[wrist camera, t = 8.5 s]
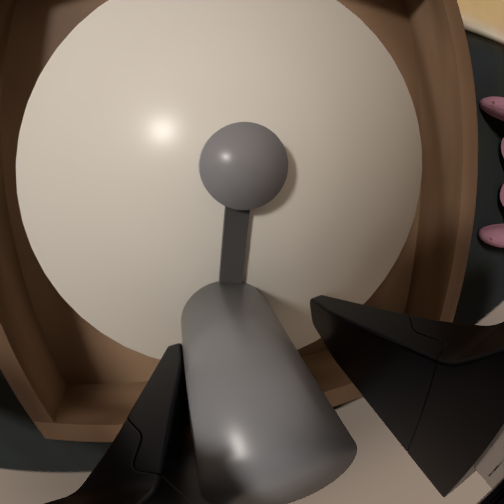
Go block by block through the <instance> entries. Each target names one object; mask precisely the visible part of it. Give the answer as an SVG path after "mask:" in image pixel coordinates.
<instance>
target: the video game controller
mask: <svg viewBox="0 0 504 504" xmlns="http://www.w3.org/2000/svg"><path fill="white" fill-rule="evenodd" d="M480 108H481V109H482V110H484V111H485V112H486V113H487V114H489V115H491V116H493V117H495V118H497V119H500V120H502V121H504V97H486V98H483V99H482V100H480ZM501 151H502V155H503V157H504V138H503V139H502V142H501ZM499 195H500V200H501V203H502V205H503V206H504V183H503V184H502V186H501V189H500V194H499ZM478 236H479V237H480V239H481V240H482V241H484V242H485V243H487V244H490V245H492V246H495V247H500V248H504V223H503V224H493V225H489V226H485V227H483V228H482V229H480V230H479V232H478Z"/></svg>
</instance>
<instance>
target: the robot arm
mask: <svg viewBox="0 0 504 504" xmlns="http://www.w3.org/2000/svg"><path fill="white" fill-rule="evenodd" d="M310 309H311V317H312V322H313V325H314V327H315V329H316V330H317V332H318V333H319V335H320V337H321V339H322V340H323V342H324V344H325V345H326V347H327V349H328V350H329V352H330V354H331V355H332V357H333V358H334V360H335V361H336V363H337V364H338V365H339V366H340V368H341V369H342V370H343V372H344V373H345V374H346V375H347V377H348V378H349V379H350V380H351V382H352V383H353V384H354V385H355V387H356V388H357V389H358V390H359V392H360V393H361V394H362V396H363V397H364V398H365V399H366V401H367V402H368V403H369V404H370V406H371V407H372V408H373V409H374V410H375V412H376V413H377V414H378V416H379V417H380V418H381V419H382V421H383V422H384V423H385V425H386V426H387V427H388V428H389V430H391V432H392V433H393V434H394V436H395V437H396V438H397V440H398V441H399V442H400V443H401V445H402V446H403V447H404V448H405V450H406V451H408V454H409V455H410V456H411V457H412V459H413V460H414V461H415V462H416V464H417V465H418V466H419V467H420V469H421V470H422V471H423V473H424V474H425V475H426V476H427V478H428V479H429V480H430V481H431V482H432V484H433V485H434V486H435V487H436V489H437V490H438V491H439V493H440V494H441V495H442V496H443V497H445V496H447V495H448V494H449V493H451V492H452V491H453V490H454V489H455V488H457V487H458V486H459V485H460V484H461V483H462V482H464V481H465V480H466V479H467V478H468V477H469V476H470V475H472V473H474V472H475V471H477V472H478V473H479V474H480V475H481V476H482V477H483V478H484V479H485V480H486V482H487V483H488V484H489V485H490V486H491V488H492V490H491V491H490V492H489V493H487V495H485V496H484V497H483V498H482V499H481V500H480V501H479V502H478V503H477V504H504V322H502V323H500V324H497V325H492V326H479V325H470V324H461V323H452V322H445V321H438V320H432V319H426V318H421V317H416V316H412V315H410V316H409V315H407V314H403V313H398V312H394V311H389V310H385V309H380V308H376V307H371V306H367V305H363V304H358V303H354V302H350V301H345V300H341V299H337V298H333V297H328V296H324V295H319V296H317V297H314V298H312V299H311V300H310ZM45 504H210V503H209V502H207V501H206V500H205V499H204V498H203V497H202V495H201V492H200V486H199V481H198V475H197V469H196V462H195V456H194V449H193V442H192V434H191V427H190V419H189V410H188V401H187V392H186V382H185V371H184V359H183V346H182V344H181V343H177V344H174V345H170V346H168V347H167V349H166V351H165V353H164V354H163V356H162V358H161V359H160V361H159V363H158V365H157V366H156V368H155V370H154V371H153V373H152V375H151V377H150V378H149V380H148V382H147V384H146V385H145V387H144V389H143V391H142V392H141V394H140V396H139V398H138V399H137V401H136V403H135V405H134V406H133V408H132V410H131V412H130V414H129V415H128V417H127V420H125V422H124V424H123V426H122V428H121V429H120V431H119V433H118V434H117V436H116V438H115V439H114V441H113V443H112V444H111V446H110V447H109V448H108V450H107V451H106V453H105V454H104V456H103V457H102V459H101V460H100V461H99V463H98V464H97V466H96V467H95V468H94V470H93V471H92V473H91V474H90V475H89V477H88V478H87V480H86V481H85V482H84V484H83V485H82V486H81V487H80V488H79V489H78V490H77V491H76V492H75V493H73V494H71V495H69V496H67V497H65V498H61V499H58V500H55V501H52V502H48V503H45Z"/></svg>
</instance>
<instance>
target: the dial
mask: <svg viewBox="0 0 504 504" xmlns="http://www.w3.org/2000/svg"><path fill="white" fill-rule="evenodd" d="M421 176H422V146H421V138H420V131H419V124H418V120H417V116H416V112H415V108H414V105H413V101H412V98H411V96H410V93H409V91H408V88H407V86H406V83H405V81H404V78H403V76H402V75H401V73H400V71H399V69H398V67H397V65H396V64H395V62H394V60H393V58H392V57H391V55H390V54H389V52H388V51H387V50H386V48H385V47H384V46H383V44H382V43H381V41H380V40H379V39H378V38H377V36H376V35H375V34H374V33H373V32H372V31H371V30H370V29H369V28H368V27H367V26H366V25H365V24H364V22H363V21H362V20H361V19H360V18H358V17H357V16H356V15H355V14H354V13H352V12H351V11H350V10H349V9H347V8H346V7H345V6H344V5H342V4H341V3H340V2H338V1H337V0H108V1H107V2H105V3H104V4H102V5H101V6H99V7H98V8H97V9H95V10H94V11H93V12H92V13H91V14H89V15H88V16H87V17H86V18H85V19H84V20H83V21H81V22H80V23H79V24H78V25H77V26H76V27H75V28H74V29H73V30H72V31H71V32H70V34H69V35H68V36H67V37H66V38H65V39H64V40H63V42H62V43H61V44H60V45H59V46H58V48H57V49H56V50H55V52H54V53H53V55H52V56H51V58H50V59H49V61H48V62H47V64H46V66H45V67H44V69H43V71H42V72H41V74H40V76H39V78H38V80H37V82H36V84H35V86H34V89H33V91H32V93H31V96H30V98H29V100H28V103H27V106H26V109H25V113H24V116H23V120H22V124H21V128H20V132H19V138H18V146H17V156H16V185H17V196H18V202H19V207H20V212H21V217H22V222H23V225H24V228H25V231H26V234H27V237H28V239H29V242H30V245H31V248H32V250H33V252H34V254H35V256H36V258H37V260H38V262H39V264H40V265H41V267H42V269H43V271H44V273H45V275H46V276H47V277H48V279H49V280H50V282H51V283H52V284H53V286H54V287H55V289H56V290H57V291H58V293H59V294H60V295H61V297H62V298H63V299H64V300H65V301H66V302H67V303H68V304H69V305H70V306H71V307H72V308H73V309H74V310H75V311H76V312H77V313H78V314H79V315H80V316H81V317H82V318H83V319H84V320H86V321H87V322H88V323H90V324H91V325H92V326H93V327H95V328H96V329H97V330H99V331H100V332H101V333H103V334H104V335H106V336H108V337H109V338H111V339H113V340H114V341H116V342H118V343H120V344H121V345H123V346H125V347H127V348H130V349H132V350H134V351H137V352H139V353H142V354H144V355H146V356H149V357H153V358H156V359H161V358H162V356H163V354H164V353H165V351H166V349H167V347H168V346H170V345H174V344H177V343H181V344H182V346H183V359H184V371H185V382H186V392H187V401H188V410H189V419H190V427H191V434H192V442H193V449H194V456H195V462H196V469H197V475H198V481H199V486H200V492H201V495H202V497H203V498H204V499H205V500H206V501H207V502H209V503H210V504H287V503H291V502H294V501H296V500H299V499H302V498H304V497H306V496H309V495H311V494H313V493H315V492H317V491H319V490H320V489H322V488H324V487H325V486H327V485H328V484H330V483H331V482H333V481H334V480H335V479H337V478H338V477H339V476H340V475H341V474H342V473H344V472H345V471H346V469H347V468H348V467H349V466H350V465H351V463H352V462H353V460H354V458H355V456H356V453H357V446H356V443H355V442H354V440H353V438H352V437H351V435H350V434H349V432H348V431H347V429H346V427H345V426H344V424H343V423H342V421H341V419H340V418H339V416H338V415H337V413H336V412H335V410H334V408H333V407H332V405H331V404H330V402H329V400H328V399H327V397H326V396H325V394H324V392H323V391H322V389H321V388H320V386H319V384H318V383H317V381H316V380H315V378H314V376H313V375H312V373H311V372H310V370H309V368H308V367H307V365H306V364H305V362H304V360H303V359H302V357H301V356H300V354H299V352H298V351H297V350H298V349H300V348H302V347H304V346H307V345H309V344H311V343H313V342H315V341H316V340H318V339H320V338H321V337H320V335H319V333H318V332H317V330H316V329H315V327H314V325H313V322H312V317H311V309H310V300H311V299H312V298H314V297H317V296H319V295H324V296H328V297H333V298H337V299H341V300H345V301H350V302H354V303H358V304H364V303H365V302H366V301H367V300H368V299H369V298H370V297H371V296H372V294H373V293H374V292H375V291H376V289H377V288H378V287H379V286H380V284H381V283H382V282H383V281H384V279H385V278H386V276H387V275H388V273H389V271H390V270H391V268H392V267H393V265H394V263H395V262H396V260H397V258H398V256H399V254H400V252H401V250H402V248H403V246H404V244H405V242H406V240H407V237H408V234H409V231H410V229H411V226H412V223H413V220H414V217H415V213H416V208H417V204H418V199H419V194H420V186H421Z"/></svg>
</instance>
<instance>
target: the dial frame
mask: <svg viewBox="0 0 504 504" xmlns="http://www.w3.org/2000/svg"><path fill="white" fill-rule="evenodd" d="M107 1H108V0H0V369H1V371H2V373H3V375H4V377H5V378H6V380H7V382H8V384H9V385H10V387H11V389H12V390H13V392H14V394H15V395H16V397H17V398H18V400H19V402H20V403H21V405H22V406H23V408H24V409H25V411H26V412H27V414H28V415H29V417H30V418H31V420H32V421H33V422H34V424H35V425H36V427H37V428H38V429H39V431H40V432H41V433H42V435H43V436H44V437H45V438H46V439H56V440H68V441H85V442H113V441H114V439H115V438H116V436H117V434H118V433H119V431H120V429H121V428H122V426H123V424H124V422H125V420H127V417H128V415H129V414H130V412H131V410H132V408H133V406H134V405H135V403H136V401H137V399H138V398H139V396H140V394H141V392H142V391H143V389H144V387H145V385H146V384H147V382H148V380H149V378H150V377H151V375H152V373H153V371H154V370H155V368H156V366H157V365H158V363H159V361H160V359H156V358H153V357H149V356H146V355H144V354H142V353H139V352H137V351H134V350H132V349H130V348H127V347H125V346H123V345H121V344H120V343H118V342H116V341H114V340H113V339H111V338H109V337H108V336H106V335H104V334H103V333H101V332H100V331H99V330H97V329H96V328H95V327H93V326H92V325H91V324H90V323H88V322H87V321H86V320H84V319H83V318H82V317H81V316H80V315H79V314H78V313H77V312H76V311H75V310H74V309H73V308H72V307H71V306H70V305H69V304H68V303H67V302H66V301H65V300H64V299H63V298H62V297H61V295H60V294H59V293H58V291H57V290H56V289H55V287H54V286H53V284H52V283H51V282H50V280H49V279H48V277H47V276H46V275H45V273H44V271H43V269H42V267H41V265H40V264H39V262H38V260H37V258H36V256H35V254H34V252H33V250H32V248H31V245H30V242H29V239H28V237H27V234H26V231H25V228H24V225H23V222H22V217H21V212H20V207H19V202H18V196H17V185H16V156H17V146H18V138H19V132H20V128H21V124H22V120H23V116H24V113H25V109H26V106H27V103H28V100H29V98H30V96H31V93H32V91H33V89H34V86H35V84H36V82H37V80H38V78H39V76H40V74H41V72H42V71H43V69H44V67H45V66H46V64H47V62H48V61H49V59H50V58H51V56H52V55H53V53H54V52H55V50H56V49H57V48H58V46H59V45H60V44H61V43H62V42H63V40H64V39H65V38H66V37H67V36H68V35H69V34H70V32H71V31H72V30H73V29H74V28H75V27H76V26H77V25H78V24H79V23H80V22H81V21H83V20H84V19H85V18H86V17H87V16H88V15H89V14H91V13H92V12H93V11H94V10H95V9H97V8H98V7H99V6H101V5H102V4H104V3H105V2H107ZM337 1H338V2H340V3H341V4H342V5H344V6H345V7H346V8H347V9H349V10H350V11H351V12H352V13H354V14H355V15H356V16H357V17H358V18H360V19H361V20H362V21H363V22H364V24H365V25H366V26H367V27H368V28H369V29H370V30H371V31H372V32H373V33H374V34H375V35H376V36H377V38H378V39H379V40H380V41H381V43H382V44H383V46H384V47H385V48H386V50H387V51H388V52H389V54H390V55H391V57H392V58H393V60H394V62H395V64H396V65H397V67H398V69H399V71H400V73H401V75H402V76H403V78H404V81H405V83H406V86H407V88H408V91H409V93H410V96H411V98H412V101H413V105H414V108H415V112H416V116H417V120H418V124H419V131H420V138H421V146H422V176H421V186H420V194H419V199H418V204H417V208H416V213H415V217H414V220H413V223H412V226H411V229H410V231H409V234H408V237H407V240H406V242H405V244H404V246H403V248H402V250H401V252H400V254H399V256H398V258H397V260H396V262H395V263H394V265H393V267H392V268H391V270H390V271H389V273H388V275H387V276H386V278H385V279H384V281H383V282H382V283H381V284H380V286H379V287H378V288H377V289H376V291H375V292H374V293H373V294H372V296H371V297H370V298H369V299H368V300H367V301H366V302H365V303H364V304H363V305H367V306H371V307H376V308H380V309H385V310H389V311H394V312H398V313H403V314H407V315H409V316H410V315H412V316H416V317H421V318H426V319H432V320H438V321H445V322H453V319H454V315H455V312H456V308H457V305H458V301H459V297H460V293H461V289H462V284H463V280H464V275H465V271H466V266H467V260H468V255H469V249H470V243H471V237H472V230H473V222H474V213H475V203H476V191H477V173H478V127H477V109H476V97H475V88H474V79H473V72H472V65H471V59H470V54H469V48H468V43H467V39H466V34H465V30H464V25H463V21H462V18H461V14H460V10H459V7H458V3H457V0H337ZM297 351H298V352H299V354H300V356H301V357H302V359H303V360H304V362H305V364H306V365H307V367H308V368H309V370H310V372H311V373H312V375H313V376H314V378H315V380H316V381H317V383H318V384H319V386H320V388H321V389H322V391H323V392H324V394H325V396H326V397H327V399H328V400H329V402H330V404H331V405H332V407H334V406H337V405H340V404H343V403H346V402H349V401H352V400H355V399H357V398H360V397H363V396H362V394H361V393H360V392H359V390H358V389H357V388H356V387H355V385H354V384H353V383H352V382H351V380H350V379H349V378H348V377H347V375H346V374H345V373H344V372H343V370H342V369H341V368H340V366H339V365H338V364H337V363H336V361H335V360H334V358H333V357H332V355H331V354H330V352H329V350H328V349H327V347H326V345H325V344H324V342H323V340H322V339H321V338H320V339H318V340H316V341H315V342H313V343H311V344H309V345H307V346H304V347H302V348H300V349H298V350H297Z"/></svg>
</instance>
